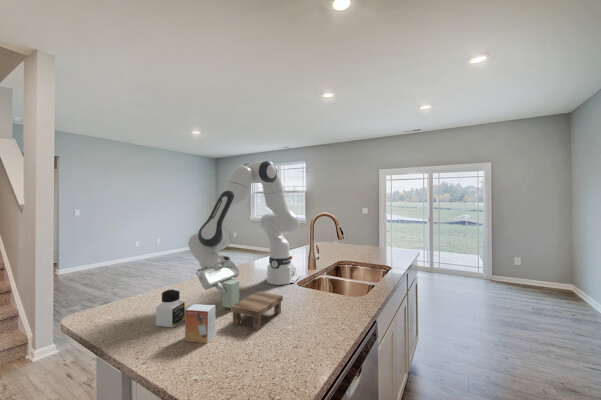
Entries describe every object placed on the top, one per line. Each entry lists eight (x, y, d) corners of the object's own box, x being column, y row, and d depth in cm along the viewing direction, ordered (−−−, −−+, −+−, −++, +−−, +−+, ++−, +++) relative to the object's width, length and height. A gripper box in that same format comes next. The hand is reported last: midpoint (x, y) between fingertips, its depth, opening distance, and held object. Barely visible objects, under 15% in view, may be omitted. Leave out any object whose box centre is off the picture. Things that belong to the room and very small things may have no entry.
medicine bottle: (172, 327, 97) (172, 294, 97) (155, 325, 98) (155, 293, 98) (184, 319, 104) (185, 288, 104) (168, 317, 105) (169, 287, 105)
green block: (230, 302, 118) (230, 279, 118) (239, 304, 115) (239, 281, 115) (222, 306, 113) (222, 282, 113) (231, 308, 111) (231, 284, 111)
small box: (184, 342, 87) (184, 309, 87) (193, 333, 93) (193, 303, 93) (207, 344, 86) (208, 311, 86) (215, 335, 92) (215, 304, 92)
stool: (258, 307, 115) (258, 291, 115) (282, 312, 110) (282, 295, 110) (230, 325, 99) (231, 306, 99) (258, 331, 94) (258, 312, 94)
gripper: (198, 265, 108) (217, 293, 104) (231, 255, 127) (248, 279, 123) (190, 275, 110) (208, 302, 106) (224, 264, 129) (240, 287, 124)
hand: (230, 290), depth 114 cm, fingers closed on green block, 5 cm apart
